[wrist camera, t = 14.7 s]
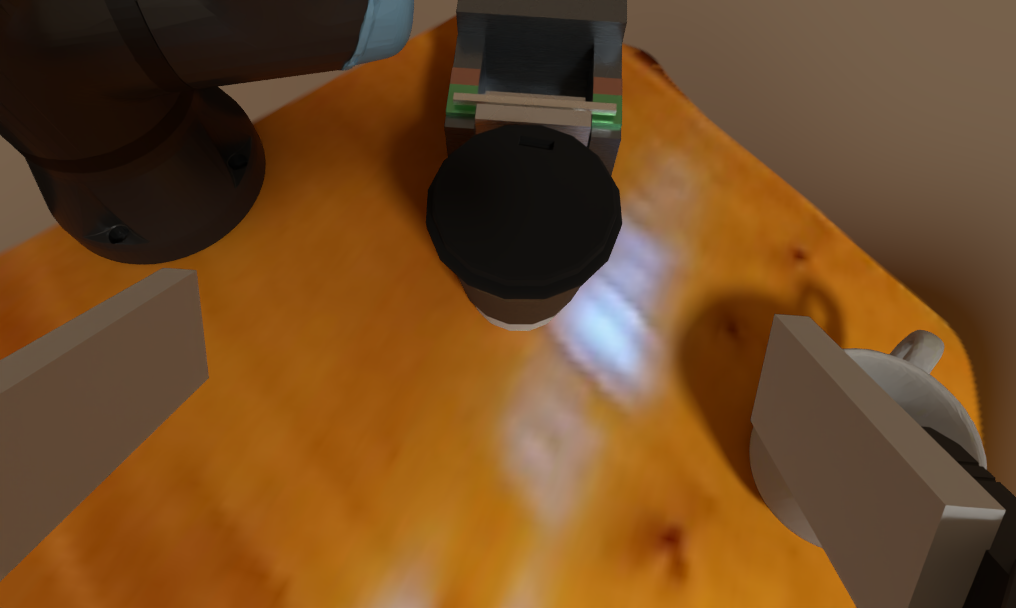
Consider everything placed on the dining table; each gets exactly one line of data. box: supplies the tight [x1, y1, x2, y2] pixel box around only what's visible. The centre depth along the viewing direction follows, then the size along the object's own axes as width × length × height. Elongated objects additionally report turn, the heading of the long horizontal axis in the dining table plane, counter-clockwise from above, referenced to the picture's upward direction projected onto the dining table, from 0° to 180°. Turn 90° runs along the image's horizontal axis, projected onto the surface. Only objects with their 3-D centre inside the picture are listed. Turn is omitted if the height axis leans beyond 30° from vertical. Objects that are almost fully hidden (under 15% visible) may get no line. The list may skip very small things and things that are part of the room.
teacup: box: [749, 330, 987, 548], centre depth 38 cm, size 14×11×8 cm
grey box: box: [444, 0, 627, 175], centre depth 48 cm, size 12×12×8 cm
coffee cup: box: [426, 125, 622, 331], centre depth 41 cm, size 11×11×12 cm
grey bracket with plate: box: [453, 91, 616, 146], centre depth 45 cm, size 6×11×8 cm, turn 86°
